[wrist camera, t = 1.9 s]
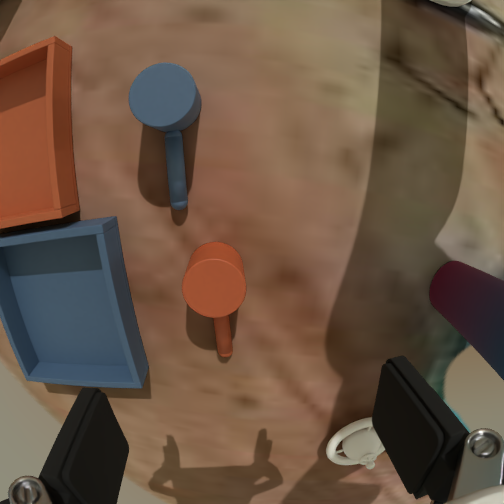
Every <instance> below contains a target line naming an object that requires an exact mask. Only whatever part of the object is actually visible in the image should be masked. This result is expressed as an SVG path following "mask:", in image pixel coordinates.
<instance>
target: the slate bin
mask: <svg viewBox="0 0 504 504" xmlns="http://www.w3.org/2000/svg"><path fill="white" fill-rule="evenodd" d="M0 318H1V321H2V323H3V326H4V329H5V331H6V334H7V337H8V339H9V342H10V344H11V346H12V349H13V351H14V354H15V356H16V358H17V361H18V363H19V365H20V367H21V369H22V372H23V374H24V375H25V378H26V380H27V381H35V382H43V383H52V384H63V385H75V386H89V387H109V388H142V387H143V384H144V381H145V378H146V374H147V371H148V368H149V366H148V362H147V359H146V355H145V351H144V348H143V344H142V340H141V336H140V332H139V328H138V324H137V320H136V316H135V312H134V308H133V303H132V299H131V294H130V290H129V285H128V280H127V275H126V270H125V265H124V259H123V254H122V248H121V242H120V236H119V230H118V223H117V217H116V216H114V217H106V218H99V219H92V220H84V221H77V222H71V223H64V224H57V225H51V226H45V227H38V228H32V229H26V230H20V231H15V232H9V233H3V234H0Z"/></svg>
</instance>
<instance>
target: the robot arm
mask: <svg viewBox="0 0 504 504" xmlns="http://www.w3.org/2000/svg"><path fill="white" fill-rule="evenodd" d="M430 1H433V2H435V3H438V4H441V5H445V6H449V7H459V6H462V5H465V4H466V3H468V2H470V1H471V0H430ZM372 425H373V427H374V429H375V431H376V433H377V435H378V437H379V439H380V441H381V442H382V444H383V446H384V448H385V450H386V452H387V454H388V456H389V457H390V459H391V461H392V463H393V465H394V467H395V469H396V471H397V473H398V475H399V476H400V478H401V480H402V482H403V484H404V486H405V488H406V490H407V492H408V493H409V494H412V493H413V494H414V496H415V498H416V499H418V498H421V497H423V496H425V495H427V494H428V495H429V497H430V499H431V503H430V504H504V441H503V439H502V437H501V436H500V435H499V434H498V433H497V432H495V431H494V430H491V429H486V428H481V429H477V430H474V431H473V432H471V433H469V432H468V431H467V429H466V428H465V427H464V426H463V424H462V423H461V422H460V421H459V420H458V418H457V417H456V416H455V415H454V413H453V412H452V411H451V410H450V408H449V407H448V406H447V405H446V404H445V402H444V401H443V400H442V399H441V398H440V396H439V395H438V394H437V393H436V392H435V390H434V389H433V388H432V387H431V386H430V385H429V384H428V383H427V382H426V381H425V379H424V378H423V377H422V376H421V375H420V374H419V372H418V371H417V370H416V369H415V368H414V367H413V365H412V364H411V363H410V362H409V361H408V360H407V358H406V357H404V356H399V357H395V358H391V359H388V360H387V361H386V364H384V365H383V366H382V369H381V375H380V380H379V386H378V391H377V396H376V401H375V406H374V410H373V415H372ZM128 453H129V445H128V442H127V440H126V438H125V436H124V434H123V432H122V430H121V428H120V426H119V424H118V422H117V419H116V417H115V415H114V413H113V410H112V408H111V406H110V404H109V401H108V399H107V396H106V394H105V393H102V392H101V390H100V389H98V388H82V389H81V391H80V393H79V395H78V397H77V399H76V401H75V402H74V404H73V406H72V408H71V410H70V412H69V414H68V416H67V418H66V420H65V422H64V424H63V426H62V428H61V430H60V432H59V434H58V436H57V438H56V441H55V443H54V445H53V447H52V449H51V451H50V453H49V456H48V457H47V460H46V462H45V464H44V466H43V469H42V471H41V473H40V475H39V478H36V477H33V476H22V477H20V478H18V479H16V480H15V481H14V482H13V483H12V484H11V486H10V487H9V491H8V497H9V498H8V499H6V500H3V501H1V502H0V504H117V499H118V495H119V491H120V486H121V482H122V478H123V474H124V470H125V465H126V461H127V457H128Z"/></svg>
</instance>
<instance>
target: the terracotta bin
mask: <svg viewBox="0 0 504 504" xmlns="http://www.w3.org/2000/svg"><path fill="white" fill-rule="evenodd" d="M71 59H72V47H71V46H70V45H68V44H67V43H65V42H64V41H62V40H60V39H59V38H57V37H56V36H54V37H51V38H49V39H46V40H44V41H41V42H39V43H36V44H34V45H32V46H29V47H27V48H25V49H23V50H20V51H18V52H16V53H14V54H12V55H10V56H8V57H6V58H4V59H2V60H0V229H2V228H7V227H12V226H18V225H23V224H29V223H35V222H40V221H46V220H52V219H58V218H63V217H65V216H68V215H70V214H72V213H75V212H77V211H79V210H80V208H79V201H78V193H77V185H76V176H75V166H74V155H73V141H72V122H71Z"/></svg>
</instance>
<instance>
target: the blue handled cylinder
mask: <svg viewBox="0 0 504 504" xmlns="http://www.w3.org/2000/svg"><path fill="white" fill-rule="evenodd" d="M129 105H130V109H131V111H132V113H133V115H134V116H135V117H136V118H137V119H138V120H139V121H140V122H142V123H143V124H145V125H148V126H150V127H153V128H155V129H158V130H160V131H163V132H166V134H165V150H166V162H167V173H168V184H169V193H170V203H171V206H172V207H173V208H174V209H176V210H182V209H184V208H185V207H186V206H187V203H188V197H187V187H186V176H185V165H184V153H183V140H182V134H181V132H180V131H181V130H183V129H185V128H187V127H189V126H190V125H191V124H192V123H193V122H194V121H195V120H196V118H197V117H198V115H199V112H200V109H201V97H200V94H199V91H198V89H197V86H196V84H195V82H194V80H193V77H192V76H191V74H190V73H189V72H188V71H187V70H186V69H185V68H183V67H181V66H179V65H177V64H174V63H159V64H155V65H152V66H150V67H148V68H146V69H145V70H143V71H142V72H141V73H140V74H139V75H138V76H137V77H136V79H135V80H134V82H133V83H132V86H131V88H130V92H129Z"/></svg>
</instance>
